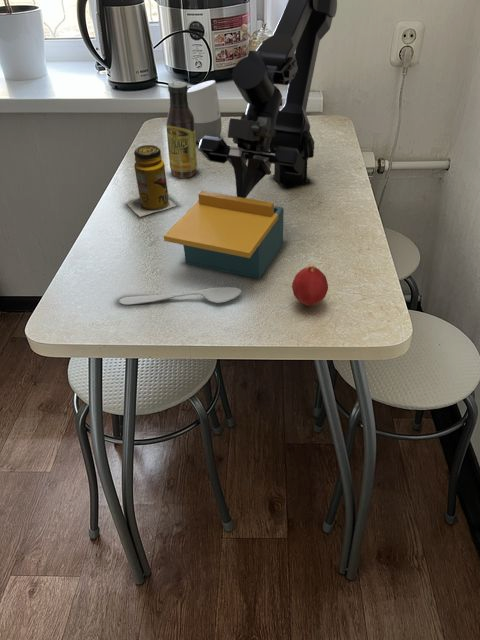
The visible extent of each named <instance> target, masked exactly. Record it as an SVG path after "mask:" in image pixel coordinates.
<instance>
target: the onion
mask: <svg viewBox="0 0 480 640" xmlns="http://www.w3.org/2000/svg"><path fill="white" fill-rule="evenodd" d="M327 280H328V279H327V277H326V275H325V274H324V272H323V271H321V270H320V269H319V268H317V267H315V266H314V265H313V264H309V265H308V266H306V267H304V268H302V269H300V270H299V271H298V272H297V273H296V274H295V276H294V277H293V281H292V283H291V289H292V294H293V296H294V298H295V299H296V300H297V301H298V302H300V303H301V304H303V305H305V306H306V307H312V306H314V305H316V304H318V303H320V302H322V301H323V300H324V299H325V298H326V296H327V294H328V290H329V284H328V281H327Z"/></svg>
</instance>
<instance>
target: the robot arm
mask: <svg viewBox="0 0 480 640" xmlns="http://www.w3.org/2000/svg"><path fill="white" fill-rule="evenodd" d="M337 11H338V0H287V2H286V5H285V6H284V9H283V11H282V14H281V16H280V18H279V20H278V23H277V25H276V27H275V29H274V31H273V34H272V36H269V37H268V38H266V39H264V40H263V41H261V43H260V44H259V46H258V48H257V49H256V50H251V49H250V50H248V54H247V56H245V57H243V58H242V59H240V60H238V62H237V63H235V65H234V67H233V68H232V73H231V76H232V78H231V79H232V81H233V83H234V85H235V87H236V89H238V91H239V93H240V95H241V96H242V98H243V100H244V101H245V102H246V103H247V105H246V106H247V107H246V110H245V114H244V113H242V115H241V117H240V118H232V117H229V118H228V127H227V139H232V142H233V143H234V144H236V145H237V146H235V145H228V144H227V142H226V141H225V140H224V138H222V137H211V136H204V137H203V138H202V139H201V140H200V143H199V144H198V148H197V150H198V151H199V152H200V153H201V154H202V155H203V157H204V158H206V160H207V161H209V162H212V163H218V164H225V163H227V162H228V163H229V164H230V165H231V166H232V168H233V172H234V178H235V191H236V197H242V198H247V197H248V196H249V194H251V192H252V191H253V189H254V188H255V187H256V185H258V184H259V183H260V181H262V180H263V178H265V177H266V176H267V175H268V176H269V175H271V174H272V171H271V168H272V165H273V164H274V174H273V175H272V179H273V180H275V181H276V182H278V184H279V185H281V186H282V187H283V188H284V189H289V188H294V187H297V186H301V185H305V184H306V185H307V184H310V183H311V179H310V178H309V177H308V160H309V159H311V158H314V154H315V139H314V138H313V135H312V133H311V132H310V131H311V124H310V121H309V118H308V115H307V106H308V102H309V96H310V91H311V86H312V81H313V77H314V73H315V67H316V61H317V58H318V57H317V56H318V52H319V47H320V43H321V42H320V41H321V40H322V39H323V38H324V36H326V34H328V32H329V31H330V29H331V26H332V22H333V19H334V18H335V16H336V15H337ZM276 85H280V86H281V85H282V86H287V89H286V95H285V101H284V105H283V95H282V92H281V91H280V89H279V88H278V87H277V86H276Z"/></svg>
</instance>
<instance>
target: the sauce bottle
mask: <svg viewBox="0 0 480 640" xmlns="http://www.w3.org/2000/svg"><path fill="white" fill-rule="evenodd" d="M188 89H189V87H188V83H186V82H184V81H179V80H178V81H170V82H169V83H168V84H167V90H168V93H169V110H168V113H167V118H166V124H165V125H166V127H165V128H166V137H167V138H166V139H167V149H168V151H167V152H168V160H169V161H168V162H169V169H170V172H171V175H172V176H174V177H176V178H181V179H182V178H184V179H185V178H190V177H192V176H194V175H195V174H196V173H197V168H198V157H197V142H196V140H195V128H194V117H193V114H192V112H191V110H190V109H189V107H188V102H187V91H188Z"/></svg>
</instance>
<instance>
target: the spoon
mask: <svg viewBox="0 0 480 640" xmlns="http://www.w3.org/2000/svg"><path fill="white" fill-rule="evenodd" d="M241 293H242V290H241V289H240V288H239V287H211V288H210V287H209V288H206V289H197V290H191V291H185V292H174V293H162V294H161V293H160V294H150V295H148V294H147V295H136V296H135V295H134V296H124V297H123V298H121V299H119V301H118V302H119V303H120V304H121V305H126V306H132V305H141V304H147V303H148V304H149V303H155V302H159V301H165V300H169V299H172V298H178V297H185V296H192V295H200V296H202V297H204V299H206V300H207V301H209V302H211V303H216V304H221V303H225V302H228V301H232V300H233V299H235V298H237V297H238V296H239V295H240V294H241Z"/></svg>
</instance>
